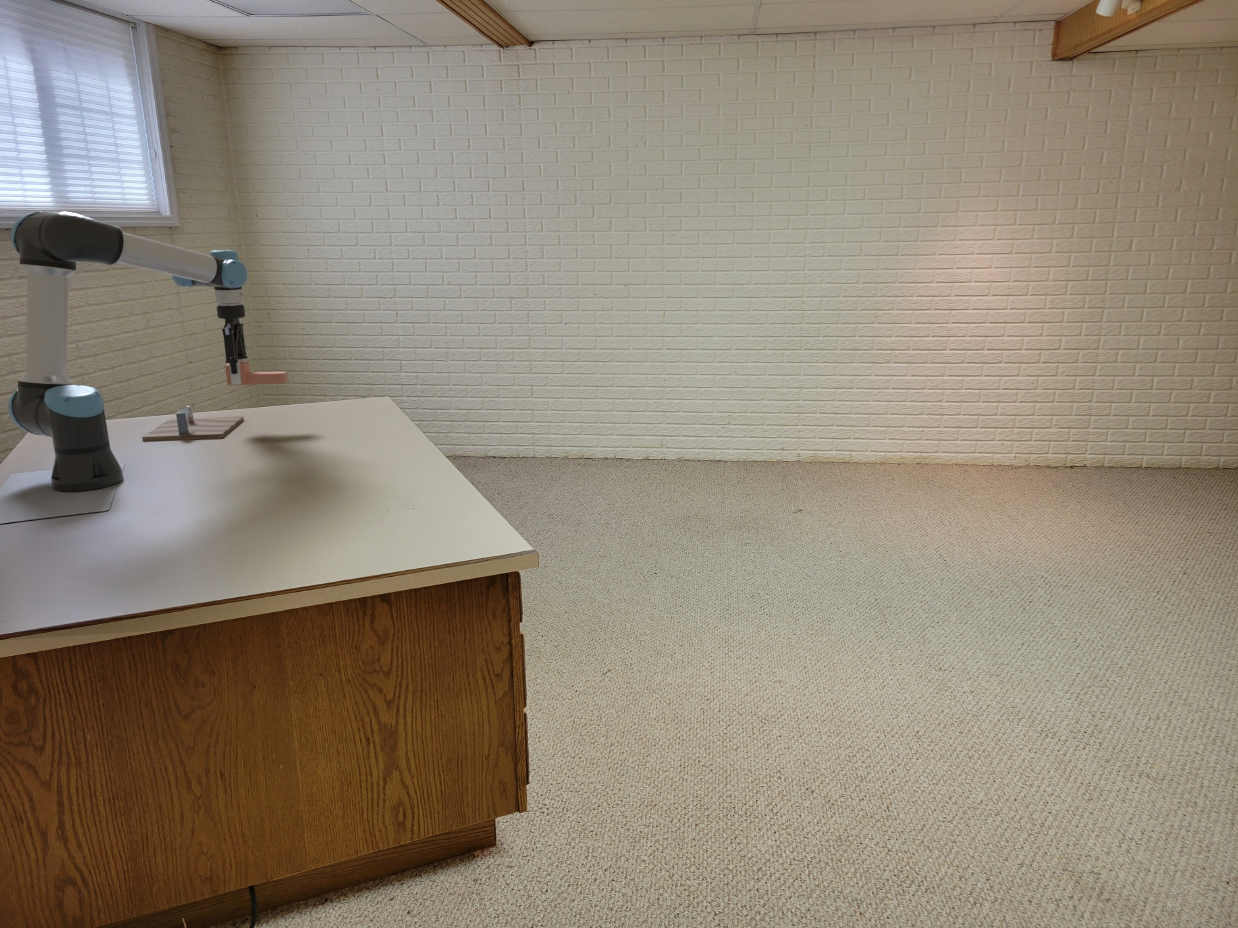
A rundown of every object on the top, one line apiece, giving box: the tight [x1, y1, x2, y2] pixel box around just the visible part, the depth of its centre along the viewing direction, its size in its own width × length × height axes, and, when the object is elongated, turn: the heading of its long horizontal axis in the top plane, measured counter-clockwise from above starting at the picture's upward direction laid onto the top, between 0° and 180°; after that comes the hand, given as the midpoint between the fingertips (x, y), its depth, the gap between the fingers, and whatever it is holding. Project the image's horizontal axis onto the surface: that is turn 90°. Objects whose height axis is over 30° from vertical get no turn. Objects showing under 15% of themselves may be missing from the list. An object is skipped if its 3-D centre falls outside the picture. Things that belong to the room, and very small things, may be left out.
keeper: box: [175, 408, 189, 434], centre depth 263 cm, size 6×2×7 cm, turn 18°
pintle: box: [185, 405, 195, 423], centre depth 276 cm, size 2×2×6 cm
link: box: [224, 361, 289, 386], centre depth 267 cm, size 16×5×6 cm, turn 98°
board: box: [141, 416, 245, 442], centre depth 271 cm, size 24×22×1 cm
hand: (239, 382), depth 267 cm, fingers closed on link, 5 cm apart
